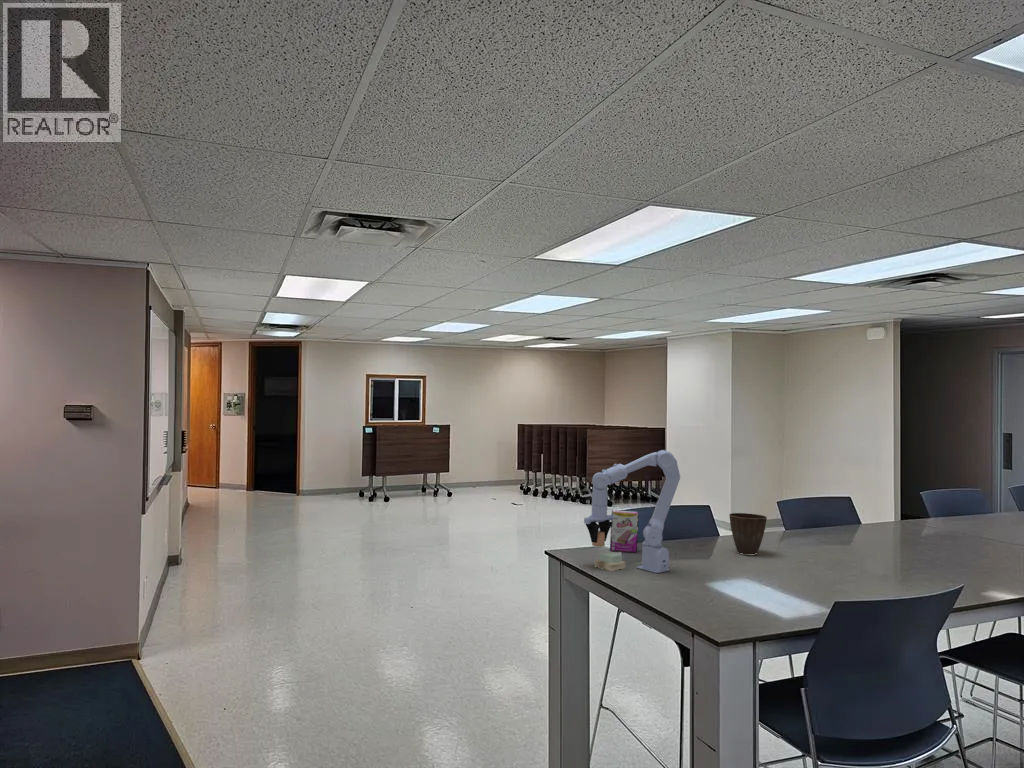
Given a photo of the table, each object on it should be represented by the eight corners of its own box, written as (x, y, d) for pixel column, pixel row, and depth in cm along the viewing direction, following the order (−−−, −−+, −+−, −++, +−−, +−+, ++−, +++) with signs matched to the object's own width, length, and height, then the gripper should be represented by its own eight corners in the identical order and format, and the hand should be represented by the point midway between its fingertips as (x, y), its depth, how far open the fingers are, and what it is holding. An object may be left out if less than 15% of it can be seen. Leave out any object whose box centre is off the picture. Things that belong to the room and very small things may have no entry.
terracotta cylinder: (607, 545, 253) (607, 532, 254) (599, 547, 250) (599, 533, 250) (597, 543, 257) (597, 530, 257) (589, 545, 254) (589, 531, 254)
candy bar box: (610, 551, 279) (611, 511, 280) (609, 549, 284) (611, 509, 285) (637, 553, 278) (639, 513, 279) (636, 550, 283) (637, 511, 284)
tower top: (621, 561, 251) (622, 554, 251) (611, 563, 247) (612, 556, 247) (609, 558, 255) (609, 551, 255) (598, 560, 251) (599, 553, 251)
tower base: (625, 570, 250) (625, 561, 250) (611, 573, 245) (611, 564, 245) (608, 565, 256) (608, 557, 256) (594, 568, 251) (594, 560, 251)
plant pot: (721, 552, 286) (722, 514, 286) (739, 548, 296) (740, 511, 296) (754, 559, 275) (755, 519, 275) (772, 555, 285) (773, 516, 285)
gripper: (604, 502, 262) (603, 537, 261) (578, 505, 252) (577, 541, 252) (618, 504, 256) (617, 540, 256) (592, 507, 247) (591, 545, 246)
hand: (598, 541), depth 254 cm, fingers closed on terracotta cylinder, 5 cm apart
